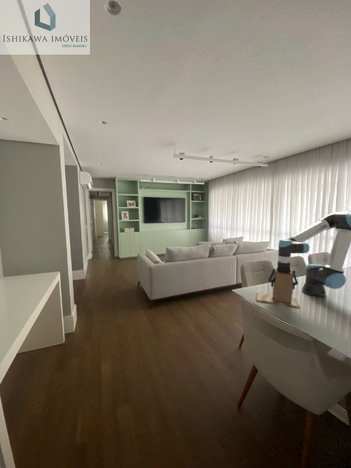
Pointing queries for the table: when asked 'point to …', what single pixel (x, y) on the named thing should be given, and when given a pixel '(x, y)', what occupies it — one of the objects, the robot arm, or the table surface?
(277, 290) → the block
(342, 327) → the table surface
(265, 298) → the board
